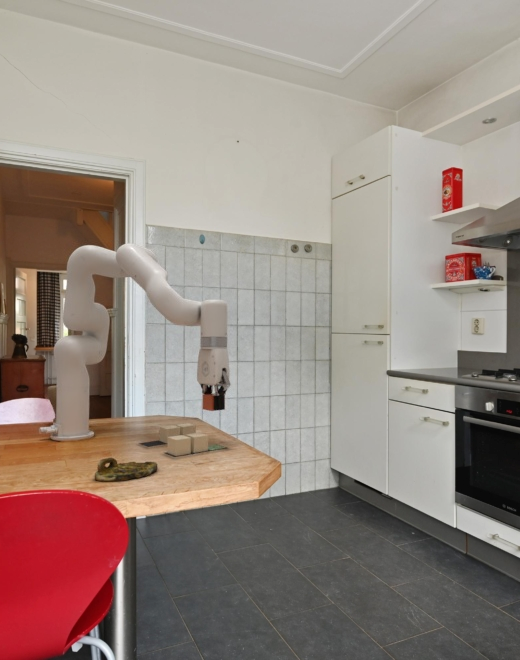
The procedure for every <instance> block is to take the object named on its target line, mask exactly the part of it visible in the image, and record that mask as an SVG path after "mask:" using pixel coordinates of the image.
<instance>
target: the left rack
mask: <svg viewBox="0 0 520 660" xmlns="http://www.w3.org/2000/svg"><path fill="white" fill-rule="evenodd" d="M158 428H159V429H158V430H159V431H158V432H159V433H158V434H159V435H158V440H153V441H151V440H150V441H144V442H138V444H139V445H140V446H141V445H142V446H144V447H146V448H151V447H158V446H165V445H167V442H168V437H172V436H179V435H183V436H186V435H187V434H194V433H197V425H196V424H192V423H190V422H188V423H178V424H175V425H173V424H170V425H163V426H162V425H161V426H159V427H158Z"/></svg>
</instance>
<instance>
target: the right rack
mask: <svg viewBox="0 0 520 660" xmlns="http://www.w3.org/2000/svg"><path fill="white" fill-rule="evenodd" d="M166 445H167V447H166V448H167V450H166V452H164V454H165V455H167V456H169V457H173V458H179V457H187V456H191V455H197V454H203V453H209V452H214V451H220V450H226V449H228V447H226V446H222V445H219V444H210V445H209V434H207V433H206V434H205V433H201V432H196V433H194V434H187V435H186V436H183V435H179V436H172V437H168V442H167V444H166Z"/></svg>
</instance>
